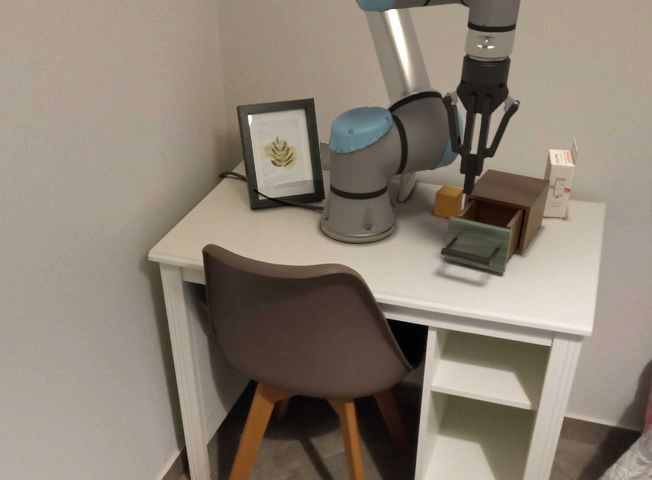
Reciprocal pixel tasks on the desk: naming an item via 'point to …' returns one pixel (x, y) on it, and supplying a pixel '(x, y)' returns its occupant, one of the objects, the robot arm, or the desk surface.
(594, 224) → the desk surface
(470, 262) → the drawer
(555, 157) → the ink cartridge box
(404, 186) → the cassette
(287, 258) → the desk surface
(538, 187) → the cabinet
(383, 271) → the desk surface
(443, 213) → the block
